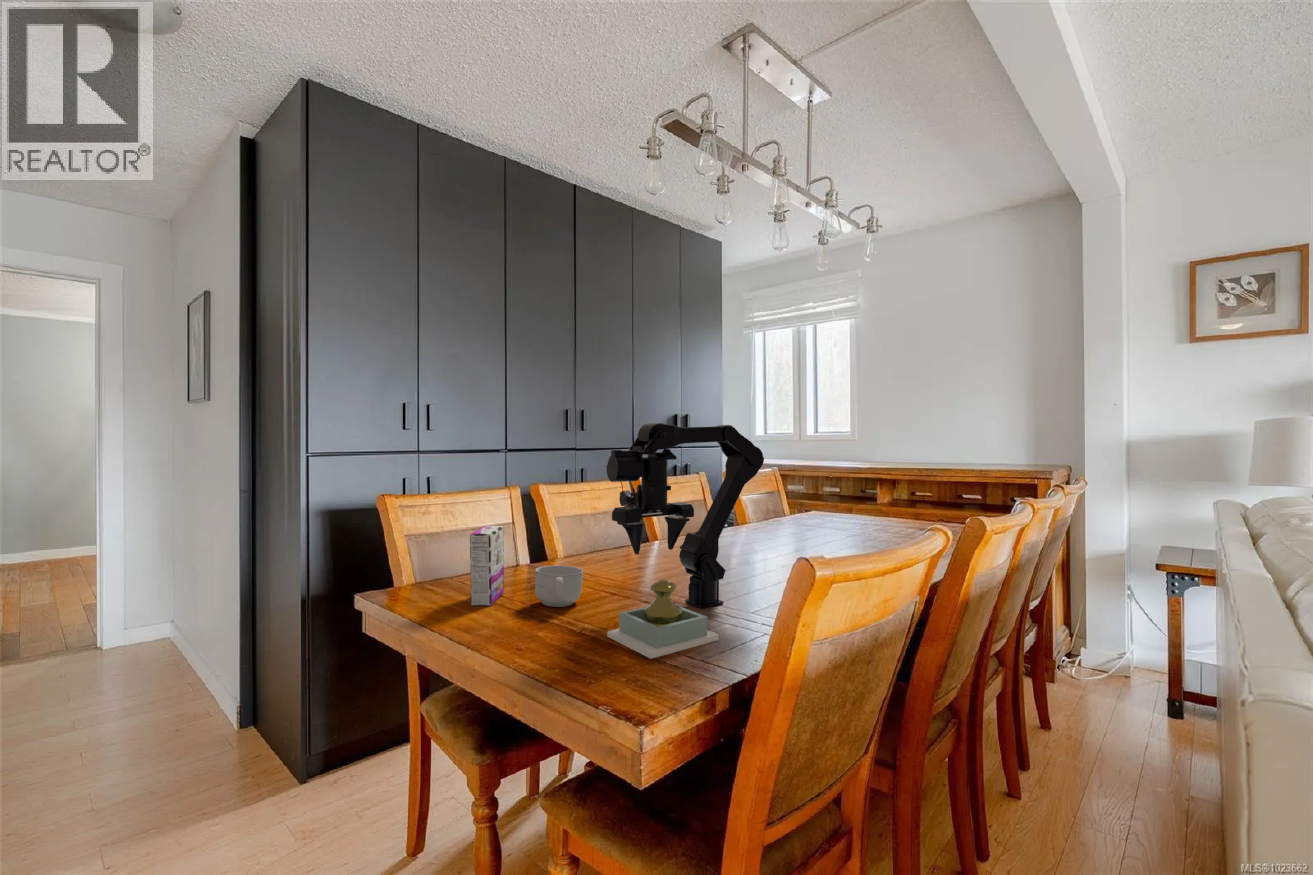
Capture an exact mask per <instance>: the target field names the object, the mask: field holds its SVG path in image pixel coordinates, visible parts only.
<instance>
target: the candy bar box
mask: <svg viewBox="0 0 1313 875" xmlns="http://www.w3.org/2000/svg"><path fill="white" fill-rule="evenodd" d="M469 547H470V548H469V555H470V556H469V558H470V559H469V560H470V562H469V565H470V606H471V607H472V606H473V607H491V606H492V605H493V604H495V602H496V601H497V600H498V599H499V598H500V597H501V596H502V595H503V594H504V593H505V581H504V580H505V576H504V573H505V572H504V571H505V570H504V567H505V566H504V564H505V563H504V562H505V561H504V526H503V525H485V526H482V527H481V528H479V529H477V530H475V531H474V532H472V533H470V534H469Z"/></svg>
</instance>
